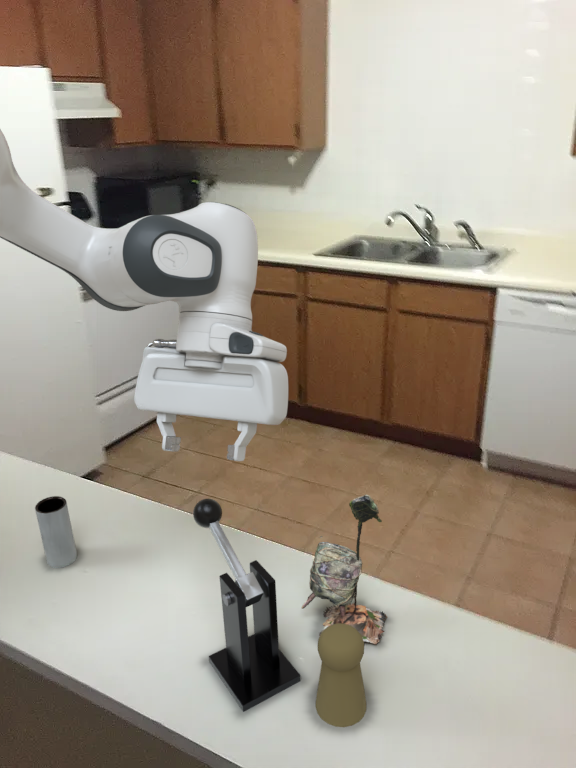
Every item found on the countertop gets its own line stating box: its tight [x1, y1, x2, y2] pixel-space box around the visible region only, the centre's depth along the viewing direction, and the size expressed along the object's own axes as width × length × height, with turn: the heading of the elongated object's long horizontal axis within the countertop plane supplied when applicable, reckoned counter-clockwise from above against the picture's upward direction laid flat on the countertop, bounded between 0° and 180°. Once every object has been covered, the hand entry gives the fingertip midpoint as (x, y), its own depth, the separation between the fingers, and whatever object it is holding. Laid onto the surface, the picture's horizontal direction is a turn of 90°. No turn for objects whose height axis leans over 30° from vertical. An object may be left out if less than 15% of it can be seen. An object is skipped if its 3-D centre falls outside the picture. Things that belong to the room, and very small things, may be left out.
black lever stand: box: [208, 559, 302, 713], centre depth 80 cm, size 9×8×15 cm
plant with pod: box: [301, 494, 388, 645], centre depth 86 cm, size 8×11×20 cm
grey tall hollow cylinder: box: [34, 495, 78, 569], centre depth 102 cm, size 4×4×10 cm
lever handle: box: [192, 498, 264, 608], centre depth 81 cm, size 14×4×4 cm, turn 33°
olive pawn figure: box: [314, 623, 367, 728], centre depth 76 cm, size 6×6×11 cm
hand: (202, 455), depth 80 cm, fingers open, 8 cm apart
